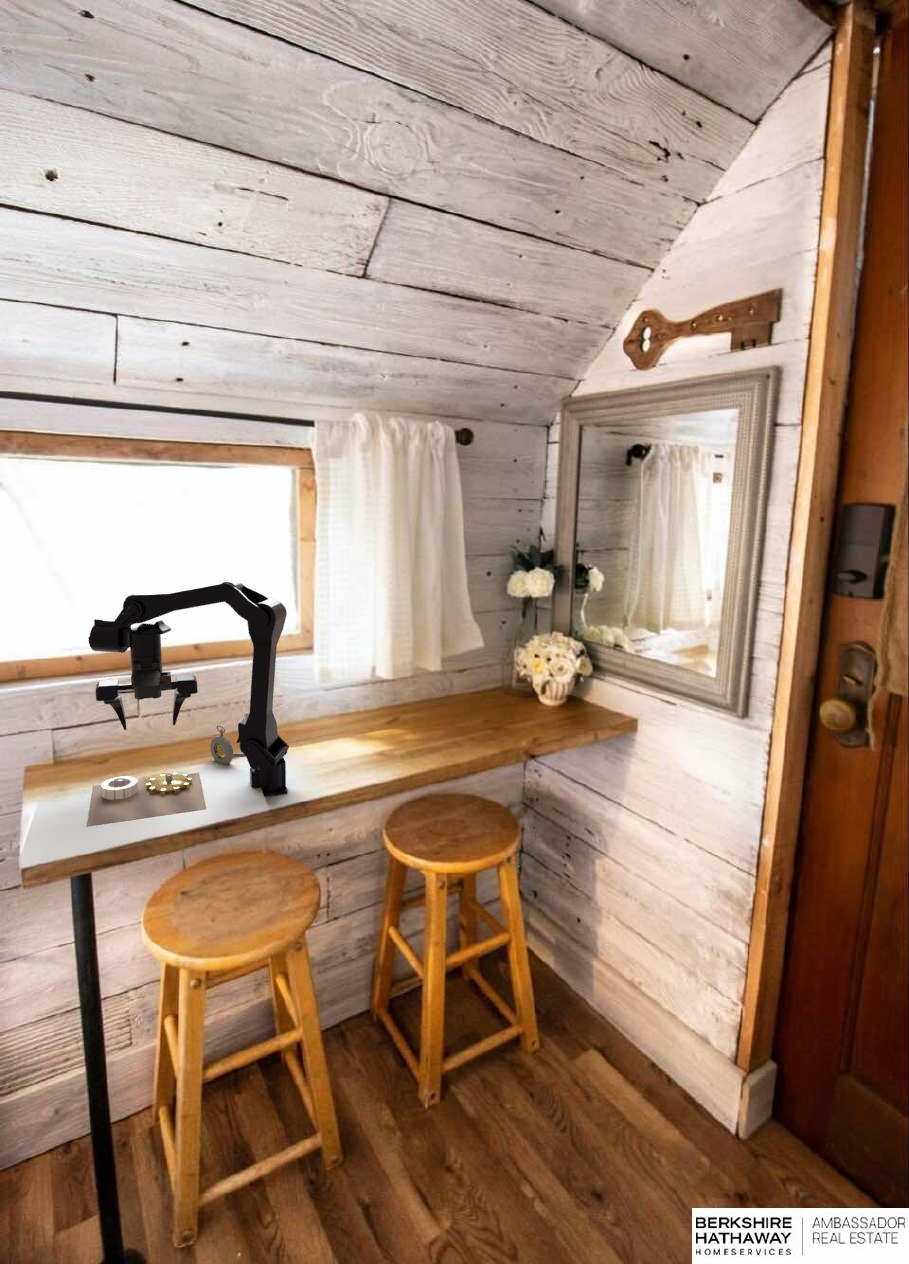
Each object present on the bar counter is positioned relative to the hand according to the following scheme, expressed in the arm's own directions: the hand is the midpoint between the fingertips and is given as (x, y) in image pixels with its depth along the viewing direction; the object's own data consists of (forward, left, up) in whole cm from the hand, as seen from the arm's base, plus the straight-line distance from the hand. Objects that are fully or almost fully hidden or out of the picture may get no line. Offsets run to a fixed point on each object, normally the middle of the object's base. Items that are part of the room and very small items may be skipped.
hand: (150, 727), depth 141 cm
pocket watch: (-16, -4, -12) cm, 21 cm away
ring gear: (+6, +7, -10) cm, 14 cm away
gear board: (+1, +11, -12) cm, 16 cm away
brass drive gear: (-3, +7, -11) cm, 13 cm away
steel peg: (+6, +7, -10) cm, 14 cm away
